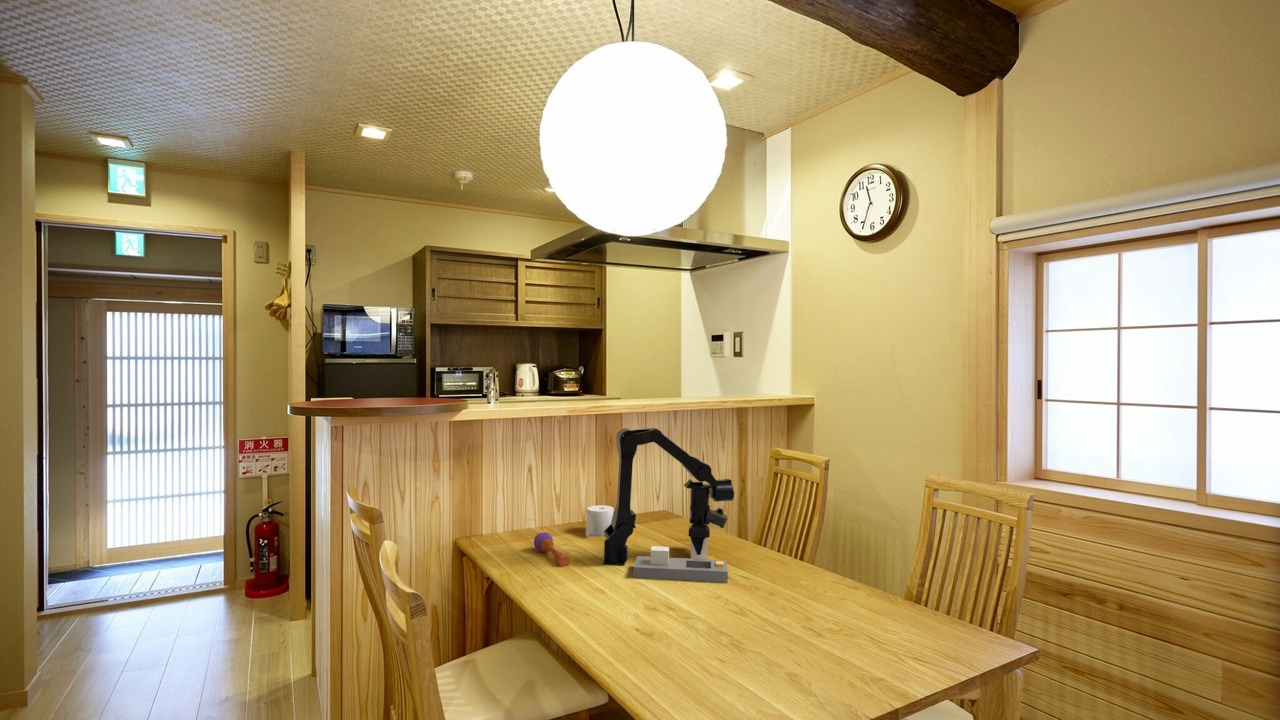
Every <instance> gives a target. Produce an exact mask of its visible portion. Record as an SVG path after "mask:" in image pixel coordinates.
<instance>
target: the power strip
mask: <svg viewBox="0 0 1280 720" xmlns="http://www.w3.org/2000/svg"><path fill="white" fill-rule="evenodd" d="M727 564H728V561H727V560H726V559H725V560H724V559H708V558H707V559H691V558H687V557H685V558H683V557H670V547H669V546H660V545H659V546H655V545H652V546H651V548H650V556H646V555H645V556H644V555H643V556H642V555H637V556H636V559H635V562H634V564H633V573H632V574H633V576H632V577H633V579H645V580H664V579H666V580H667V581H683V580H685V581H686V582H703V581H705V582H706V583H722V582H724V583H727V584H728V579H729V577H728V573H729V571H728V565H727ZM666 580H665V581H666Z"/></svg>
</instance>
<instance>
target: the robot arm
mask: <svg viewBox="0 0 1280 720" xmlns="http://www.w3.org/2000/svg"><path fill="white" fill-rule="evenodd" d="M615 435H616V436H615V440H616V449H617V455H618V474H617V476H618V477H617V493H616V494H617V495H616V505H615V508H614V513H613V517H612V521H611V524H610V525H609V526H608V527H607V528H606V529H605V530H604V534H605V536H604V537H605V540H604V543H603V545H604V546H603V547H604V548H603V561H602V565H614V566H615V565H616V566H625V565H626V563H627V561H628V559H629V545H627V542H628V538H630V537H631V535H633V533H634V529H636V519H637V513H636V512H634V510H633V509H631V495H632V480H633V478H632V477H633V465H634V464H633V463H634V459H635V456H636V453H637V449H638V446H641V445H647V444H650V443H654V444H656V445H657V446H658V447H659V448H661V449H662V450H663V451H665V452H666V453H668V455H670V456H671V457H673V459H675V460H676V461H677V462H679V464H680V465H682V467H683V468H684V470H685V471H686V472H687V473H688V474H689V475H690V476H691V477H692V478H694V479H695V480H696V481H693V480H692V479H688V481H687V482H685V483H684V485H683V487H685V488H686V489H688V490H689V489H690V503H689V504H690V505H689V506H690V507H689V513H690V515H689V523H690V525H689V526H688V537H690V541H691V540H692V543H693V545H694V548H695V551H696V553H697V555H701V551H702V546H703V542H704V539H705V538H707V539H708V538H710V536H711V535H710V534H711V533H710V532H711V530H710V527H709V525H711V524H713V525H715V526H718V528H721V529H725V526H726V523H727V520H728V516H727V515H726V514H724V509H723V508H720V507H717V509H711V506H710V499H711V500H712V501H713V502H718V503H719V502H732V501H734V497H735V491H734V487H733V485H732V480H731V479H730V478H724V479H716V478H715V476H714V475H713V473H712V472H713V471H712V467H711V466H710V465H709V464H708V463H706V462H704V461H703V460H700V459H699V458H697V457H694V456H692V455H691V454H689V453H688V452H687V451H685V450H684V449H683V448H682V447H681V446H679V445H678V444H677V443H675V442H674V441H673V440H671V438H669V437H668V436H667V435H665V434H664V433H663V432H662V431H661V429H658V428H657V427H651V428H640V429H630V428H626V427H625V428H621V429H620V430H618V432H617V433H616V434H615ZM703 482H706V483H705V484H704V483H703Z"/></svg>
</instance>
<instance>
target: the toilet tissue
mask: <svg viewBox="0 0 1280 720" xmlns="http://www.w3.org/2000/svg"><path fill="white" fill-rule="evenodd" d="M614 510H615V508H614V507H613V506H609V505H604V504H603V505H602V504H601V505H599V504H598V505H592V506H591V505H590V506H588V507H587V508H586V518H585V519H586V521H585V522H586V523H585V537H586V538H588V539H589V536H591V537H600V538H601V537H605V534H604V530H605V529H606V528H607V527H608V526H609V525H610V524H611V521H612V517H613V513H614Z"/></svg>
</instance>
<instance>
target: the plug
mask: <svg viewBox="0 0 1280 720" xmlns="http://www.w3.org/2000/svg"><path fill="white" fill-rule="evenodd" d="M691 558H692V559H708V538H705V539H704V542H703V546H702V551H701V555H697V553H696V551H695V548H694V545H693V543H692V540H691V539H690V559H691Z"/></svg>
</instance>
